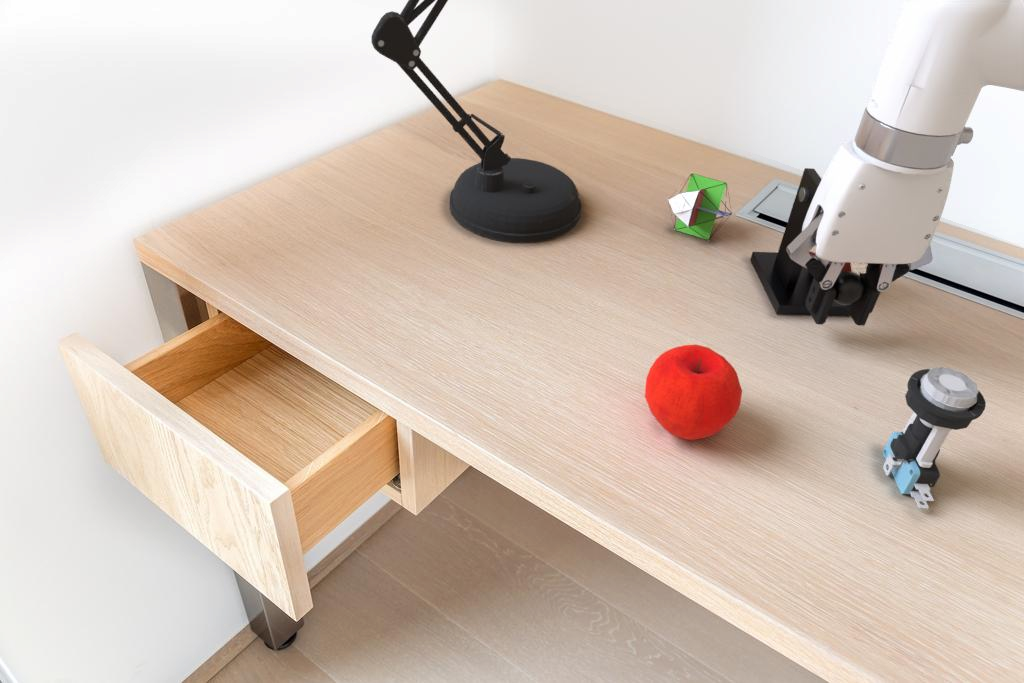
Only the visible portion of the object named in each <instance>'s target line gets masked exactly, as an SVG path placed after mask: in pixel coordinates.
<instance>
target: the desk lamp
mask: <svg viewBox="0 0 1024 683" xmlns="http://www.w3.org/2000/svg"><path fill="white" fill-rule="evenodd" d="M448 1H449V0H422V1H421V2H420V0H408V1H407V2H406V4H405V5H404V7H403V8H402V11H401V12H400V13H399V12H396V11H393V10H392V11H388V12H386V13H384V14H383V15H382V16H381V17H380V19H379V21H378V23H377V24H376V26H375V28H374V29H373V31H372V33H371V45H372V47H373V49H374V51H376V52H377V53H379V55H382V57H385V58H387V59H388V60H391V61H392V62H394V63H395V64H397V66H399V67H400V69H401V70H402V71H403V72H404V73H405V75H407V77H408V78H409V79H410V80H411V81H412V83H414V85H415V86H416V87H417V88H418V89H419V90H420V91H421V92H422V94H423V95H424V96H425V97H426V98H427V99H428V101H429V102H430V103H431V104H432V105H433V106H434V108H435V109H436V110H437V111H438V112H439V114H441V115H442V116H443V117H444V119H445V120H446V121H447V122H448V123H449V124H450V126H451V127H452V130H453V132H455V133H458V135H459V136H460V137H461V138H462V139H463V140H464V142H465V143H466V144H467V145H468V146H469V147H470V148H471V149H472V150H473V152H474V153H475V154H476V155H477V156H478V157H479V158H480V162H478V163H476V164H473V165H472V166H470V167H468V168H467V169H465V170H464V171H463V172H461V174H460V175H459V176H458V178H457V180H456V181H455V183H454V186H453V188H452V190H451V191H450V194H449V211H450V214H451V216H452V217H453V219H454V221H456V222H457V224H459V225H460V226H462V227H463V228H464V229H465V230H467V231H468V232H471V233H473V234H475V235H477V236H480V237H484V238H486V239H490V240H493V241H500V242H506V243H515V244H516V243H517V244H518V243H519V244H529V243H539V242H546V241H549V240H553V239H556V238H560V237H562V236H564V235H566V234H567V233H569V232H571V231H572V230H573V229H574V228H575V227H576V226H577V225H578V223H579V222H580V219H581V214H582V201H581V199H580V195H579V192H578V188H577V186H576V184H575V182H574V181H573V179H572V178H571V177H570V176H569V175H567V174H566V173H565V172H563V171H561V170H560V169H558V168H557V167H555V166H553V165H551V164H548V163H545V162H543V161H538V160H534V159H527V158H521V157H511V156H510V155H509V154H508V153H505V152H504V151H503V150H502V147H503V144H504V142H505V137H506V136H505V134H504V133H503V132H501V131H500V130H498V129H497V128H496V127H494V126H492V125H490V124H489V123H487V122H486V121H485V120H483V119H481V118H480V117H478V116H477V115H475V114H474V113H471V114H470V113H467V112H466V111H465V110H464V108H463V107H462V106H461V105H460V103H459V102H458V101H457V99H455V97H454V96H453V95H452V94H451V93H450V92H449V90H448V89H447V88H446V87H445V85H444V84H442V82H441V81H440V80H439V79H438V77H437V76H436V74H434V72H433V71H432V70H431V69H430V67H429V66H427V64H426V63H425V62H424V61H423V60H422V59H421V53H422V50H421V48H420V46H421V44H422V43H423V41H424V40H425V38H426V36H427V35H428V33H429V31H430V30H431V29H432V27H433V25H434V24H435V22H436V20H437V18H438V17H439V16H440V14H441V12H442V11H443V9H444V8H445V6H446V4H447V3H448ZM434 2H435V3H434ZM433 3H434V5H433V6H432V8H431V9H430V11H429V13H428V14H427V16H426V18H425V19H424V21H423V23H422V24H421V26H420V27H419V29H418V30H417V32H416V34H415V35H414V34H413V33H412V31H411V29H410V27H409V25H411V23H412V22H414V21H415V20H416V19H417V18H418V17H419V16H420V15H421V14H422V13H424V12H425V11H426V10H427V9H428V8H429V7H430V6H431V5H432V4H433ZM416 68H417V69H418V70H419V72H420V73H421V74H422V75H423V76H424V77H425V78H426V80H427V81H428V82H429V83H430V84H431V85H432V87H433V88H434V89H435V90H436V91H437V93H439V95H440V96H441V97H442V98H443V99H444V101H445V102H446V103H447V104H448V105H449V106H450V108H451V109H452V110H453V111H454V112H455V113H456V114H457V116H458V117H459V118H460V119H459V120H458V119H457V118H456V117H455V116H454V115H453V114H452V113H451V111H450V110H449V109H448V108H447V107H446V106H445V105H444V103H443V102H442V101H441V100H440V99H439V97H438V96H437V95H436V94H435V93H434V91H433V90H431V88H430V87H429V86H428V85H427V83H426V82H425V81H424V80H423V79H422V78H421V77H420V75H418V73H417V72H416V71H415V70H414V69H416ZM475 121H476V122H478V123H479V124H480V125H482V126H484V128H486V129H488V130H490V131H491V132H492V133H493V134H495V136H494V137H493V138H492V139H491V140H490V139H489V137H487V136H486V134H485V133H484V132H483V131H482V130H481V128H480V127H479V126H478V125H477V124H476V122H475ZM465 126H467V127H468V128H469V130H470V131H471V132H472V133H473V134H474V136H475V137H476V138H477V139H478V140H479V142H481V144H482V145H483V148H482V147H481V146H480V145H479V144H478V142H477V141H476V140H475V139H474V138H473V137H472V136H471V134H470V133H469V132H468V131H467V130H466V128H465Z"/></svg>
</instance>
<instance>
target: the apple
mask: <svg viewBox="0 0 1024 683" xmlns="http://www.w3.org/2000/svg"><path fill="white" fill-rule="evenodd" d="M644 389H645V390H644V398H645V400H646V403H647V405H648V409H649V411H650V413H651V414H652V416H653V418H655V420H656V421H657V423H659V424H660V426H661V427H662V428H663V429H664V430H665V431H667V432H668V433H670V434H671V435H673V436H676V437H678V438H681V439H684V440H691V441H692V440H693V441H694V440H699V439H703V438H707V437H711V436H713V435H715V434H716V433H719V432H720V431H721V430H722V429H724V428H725V427H726V426H727V424H729V423H730V421H732V420H733V419H734V418H735V417H736V415H737V413H738V412H739V410H740V406H741V405H742V404H741V402H742V394H743V389H742V386H741V383H740V380H739V376H738V372H737V371H736V369H735V367H734V366H733V365H732V364H731V363H730V362H729V361H728V360H727V359H726V358H725V357H724V356H723V355H721V354H719V353H718V352H717V351H715V350H713V349H711V348H710V347H708V346H704V345H698V344H685V345H680V346H676V347H673V348H670V349H667V350H666V351H664V352H662V353H661V354H660V355H659V356H658V357H657V358H655V360H654V362H653V363H652V365H651V366H650V368H649V371H648V373H647V376H646V379H645V388H644Z"/></svg>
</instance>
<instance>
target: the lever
mask: <svg viewBox="0 0 1024 683" xmlns="http://www.w3.org/2000/svg"><path fill="white" fill-rule="evenodd" d="M851 264H852V263H849V262H846V263H845V264H844V266H843V268H842V270H841V272H840V274H839V276H838V278H837V279H836V281H835V283H834V285H833V286H834V288H835V290H836V296H835V298H834V301H835V302H837V303H838V304H841V305H852V304H854V303H856V302H858V301H859V300H860V299H861V298H862V297H863V295H864V293H865V283H864V280H863V279H862V277H861V276H860V274H859V273H857V272H855V271H853V269H852V265H851Z"/></svg>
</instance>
